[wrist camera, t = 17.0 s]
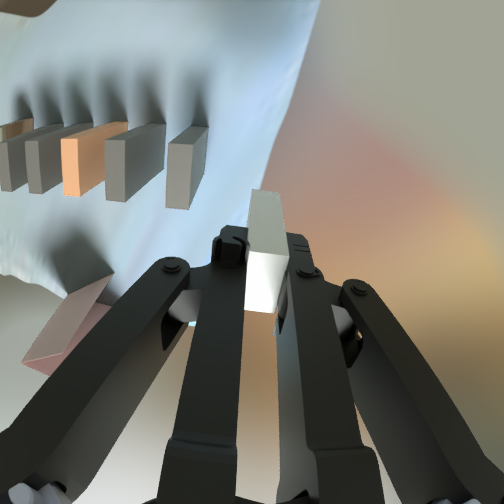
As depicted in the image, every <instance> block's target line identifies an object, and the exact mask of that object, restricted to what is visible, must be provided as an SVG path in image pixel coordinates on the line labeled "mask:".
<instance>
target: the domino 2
mask: <svg viewBox="0 0 504 504" xmlns="http://www.w3.org/2000/svg"><path fill="white" fill-rule="evenodd" d="M91 128H93V122H85V123H78V124H74V125H71V126H68V127H65V128H61V129H58V130H55V131H52V132H49V133H46V134H43V135H41V136H38V137H35V138H32V139H30V140H27V141H25V154H26V167H27V177H28V186H29V193H34V194H43V193H45V192H47V191H48V190H50V189H51V188H53V187H55V186H56V185H58V184H59V183H61V182H63V176H62V159H61V139H62V138H65V137H67V136H70V135H73V134H76V133H79V132H82V131H85V130H88V129H91Z"/></svg>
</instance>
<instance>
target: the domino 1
mask: <svg viewBox="0 0 504 504" xmlns="http://www.w3.org/2000/svg"><path fill="white" fill-rule="evenodd" d="M61 128H64V123H60V124H51V125H48V126H44V127H41V128H38V129H35V130H32V131H29V132H26V133H23V134H20V135H17V136H15V137H12V138H9V139H7V140H4V141H1V142H0V183H1V190H2V191H8V192H13V191H14V190H16V189H18V188H19V187H21V186H23V185H24V184H26V183H28V177H27V167H26V154H25V141H27V140H30V139H32V138H35V137H38V136H41V135H43V134H46V133H49V132H52V131H55V130H58V129H61Z"/></svg>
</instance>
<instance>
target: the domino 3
mask: <svg viewBox="0 0 504 504" xmlns="http://www.w3.org/2000/svg"><path fill="white" fill-rule="evenodd" d="M165 137H166V124H160V123H149V124H146V125H143V126H140V127H138V128H135V129H132V130H129V131H127V132H124V133H121V134H119V135H116V136H113V137H111V138H108V139H106V140H105V190H106V200H108V201H117V202H126V201H127V200H128V199H130V198H131V197H132V196H133V195H134V194H135V193H136V192H137V191H138V190H140V189H141V188H142V187H143V186H144V185H145V184H147V183H148V182H149V181H150V180H151V179H152V178H154V177H155V176H156V175H157V174H158V173H160V172H161V171H162V170H163V169H164V153H165Z"/></svg>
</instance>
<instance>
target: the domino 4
mask: <svg viewBox="0 0 504 504" xmlns="http://www.w3.org/2000/svg"><path fill="white" fill-rule="evenodd" d="M208 129H209V127H201V126H190V127H189V128H188V129H186V130H185V131H184V132H182V133H181V134H180V135H178V136H177V137H176V138H175V139H173V140H172V141H171V142H169V143H168V158H167V178H166V208H174V209H184V210H189V208H190V205H191V203H192V200H193V198H194V196H195V193H196V191H197V188H198V186H199V184H200V181H201V179H202V177H203V175H204V168H205V158H206V148H207V138H208Z"/></svg>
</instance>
